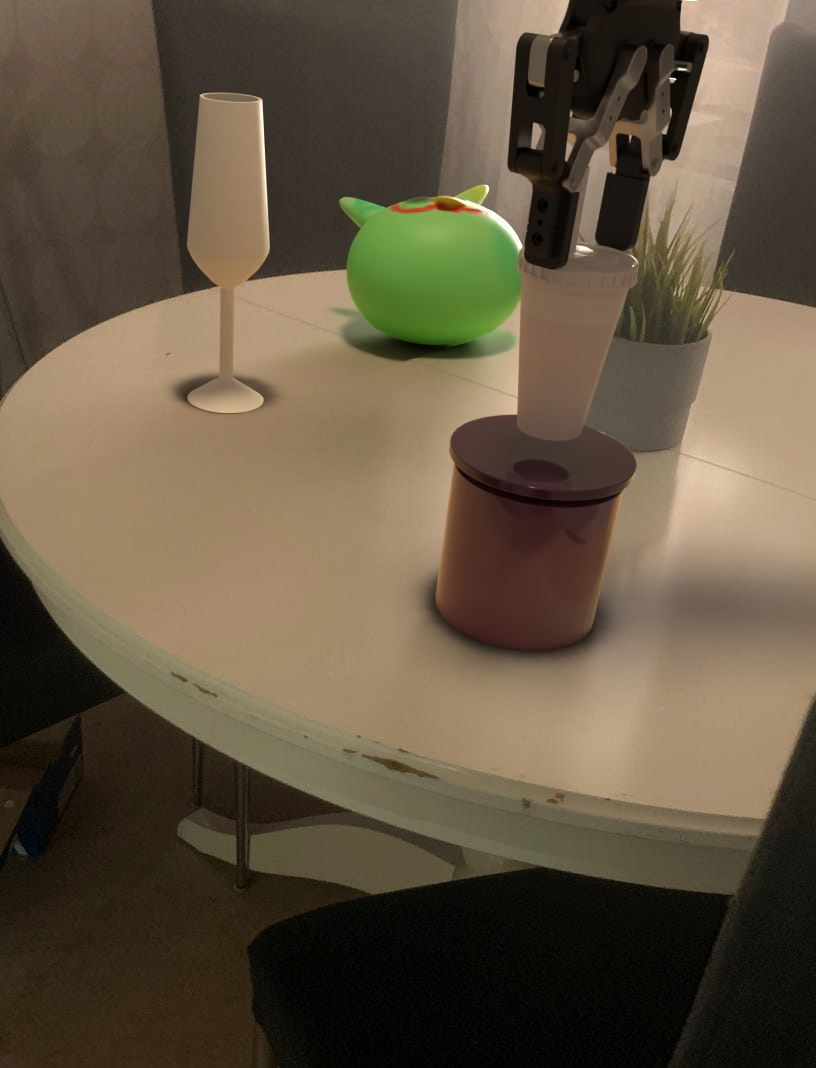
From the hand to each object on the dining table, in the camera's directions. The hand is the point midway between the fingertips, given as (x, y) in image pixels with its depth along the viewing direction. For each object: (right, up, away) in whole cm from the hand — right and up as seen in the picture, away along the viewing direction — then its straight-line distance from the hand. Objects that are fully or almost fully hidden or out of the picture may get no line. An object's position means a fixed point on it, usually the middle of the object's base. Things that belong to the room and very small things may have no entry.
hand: (580, 255), depth 59 cm
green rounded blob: (-4, +11, +57) cm, 58 cm away
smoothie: (-1, -8, +5) cm, 10 cm away
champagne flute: (-23, +1, +39) cm, 45 cm away
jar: (-2, -19, +12) cm, 22 cm away
